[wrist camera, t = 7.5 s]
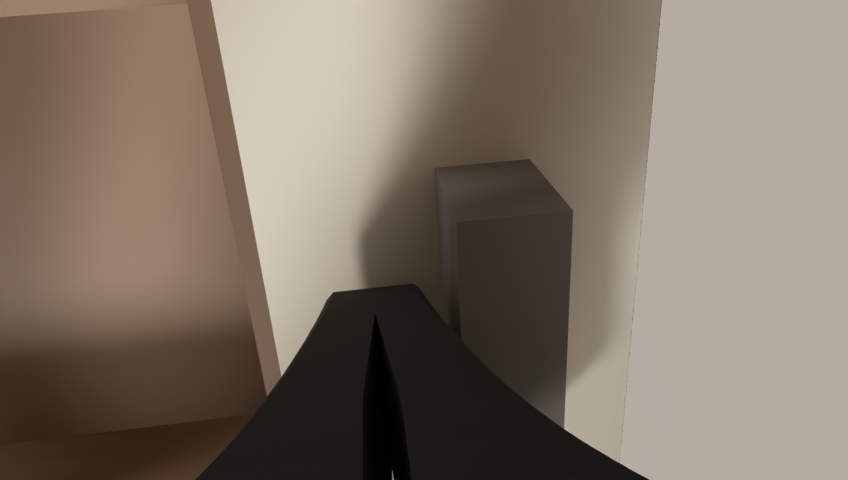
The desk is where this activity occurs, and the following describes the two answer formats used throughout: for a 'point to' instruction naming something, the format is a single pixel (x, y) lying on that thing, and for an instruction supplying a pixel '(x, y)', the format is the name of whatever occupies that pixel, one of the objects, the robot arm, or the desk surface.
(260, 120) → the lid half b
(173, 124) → the walnut box
